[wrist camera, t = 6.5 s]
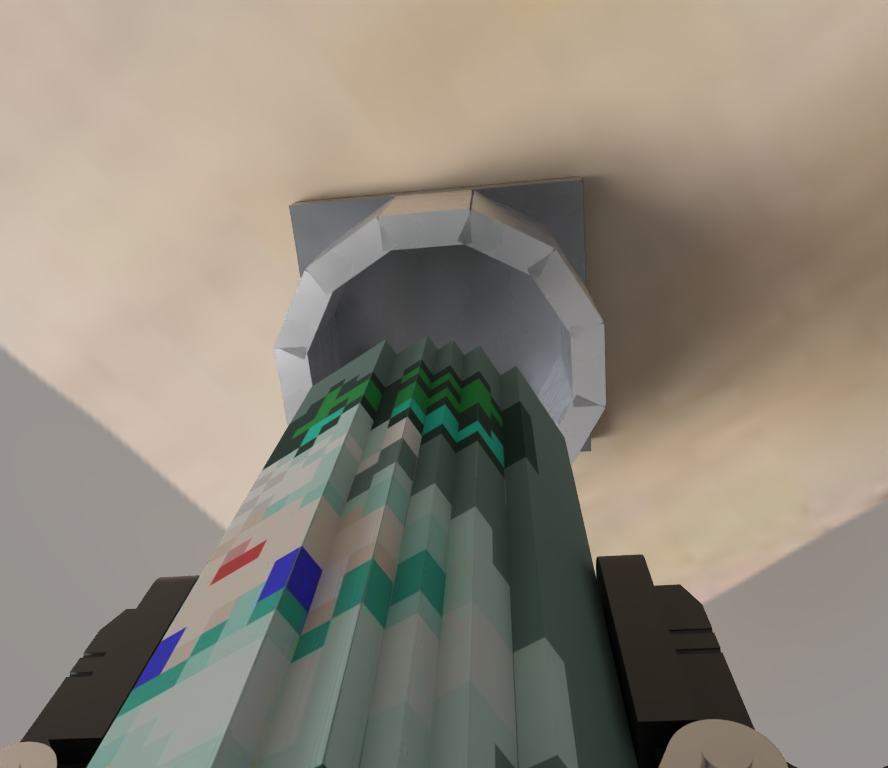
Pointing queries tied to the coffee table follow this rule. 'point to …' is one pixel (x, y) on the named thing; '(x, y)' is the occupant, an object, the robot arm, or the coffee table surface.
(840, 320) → the coffee table surface
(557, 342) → the collar holder
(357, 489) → the can
